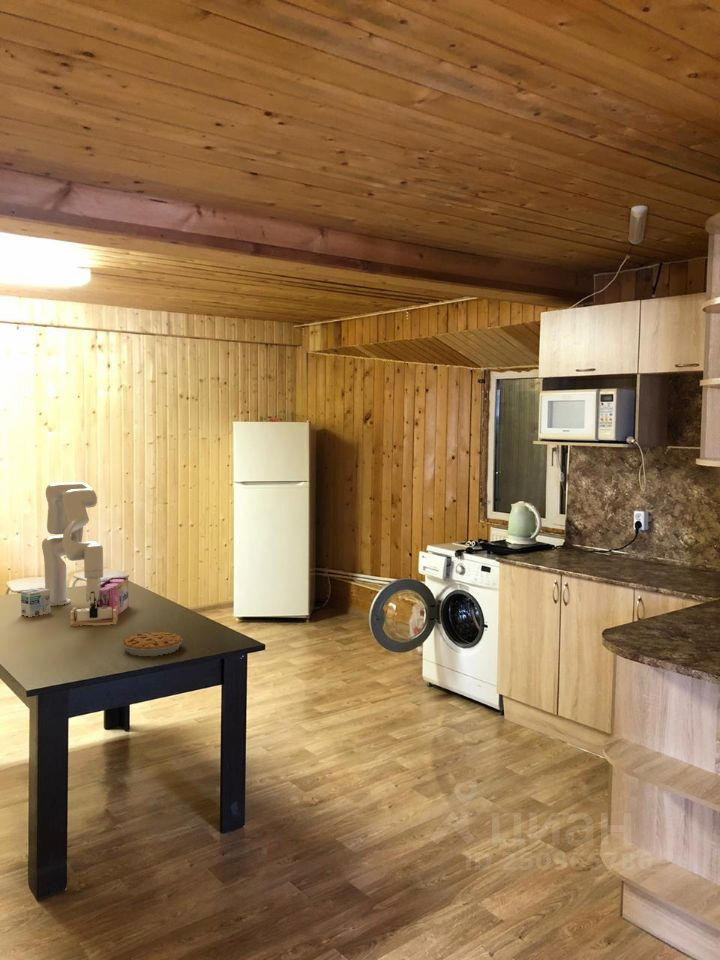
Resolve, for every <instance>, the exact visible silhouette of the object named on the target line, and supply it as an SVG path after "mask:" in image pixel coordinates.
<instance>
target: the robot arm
mask: <svg viewBox="0 0 720 960" xmlns="http://www.w3.org/2000/svg"><path fill="white" fill-rule="evenodd" d="M45 498H46V502H47V505H48V506H47V508H48V509H47V521H46V530H47V532H48V534H49V535H50V534H51V535H52V536H47V537H45V538H44V539H43V540H42V543H41V550H42V554H43V555H42V556H43V561H44V563H43V564H44V588H45V589H49V590H50V607H56V606H57V605H58V606H64V604H65V605H68V604H70V603H71V599H70V598H68V588H67V587H68V586H67V582H68V581H67V577H68V576H67V565H66V562H65V560H63V559H62V558H61V557H65V556H66V558H67V559H68V560H69V561H71V562H73V561H83V565H84V566H83V568H84V569H83V570H84V575H83V576H84V579H86V587H85V589H86V591H85V596H86V597H85V598H86V599H85V601H86V602H87V603H88V602H89V608H90V609H89V613H90V618H97V617H98V607H99V598H100V593H101V579H102V578H104V548H103V546H102V544H99V543H98V542H97V541H93V540H92V541H83V536H84V535H83V534H84V526H86V525H87V524H88V523H89V521H90V519H89V514H88V511H87V509H88V508H95V506H96V505H97V504H98V497H97V494H96V491H95V490H94V489H93V488H92V487H91V486H90V485H88V484H87V483H85V482H77V481H76V482H58V483H57V482H55V483H50V484H48V485H47V487H46V488H45ZM58 606H57V607H58Z"/></svg>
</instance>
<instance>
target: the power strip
mask: <svg viewBox="0 0 720 960" xmlns="http://www.w3.org/2000/svg"><path fill="white" fill-rule="evenodd" d="M89 609H90V607H87V608H78V609H77V608H76V619H77V621H84V620H95V619H106V618H112V608H111V606H109V607H98V617H97V618H90V613H89Z"/></svg>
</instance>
